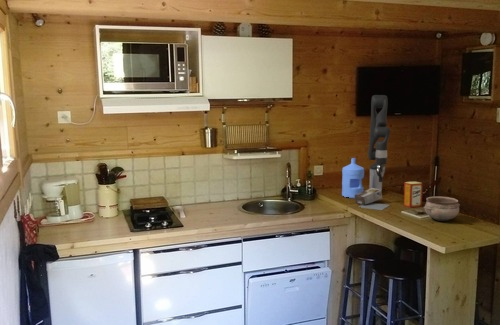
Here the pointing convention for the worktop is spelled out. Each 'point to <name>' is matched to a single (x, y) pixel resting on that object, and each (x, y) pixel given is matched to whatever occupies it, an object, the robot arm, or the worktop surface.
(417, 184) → the baking soda box
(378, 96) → the robot arm
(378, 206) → the mat
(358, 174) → the water jug
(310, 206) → the worktop surface
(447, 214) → the cooking pot
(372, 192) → the coffee box
